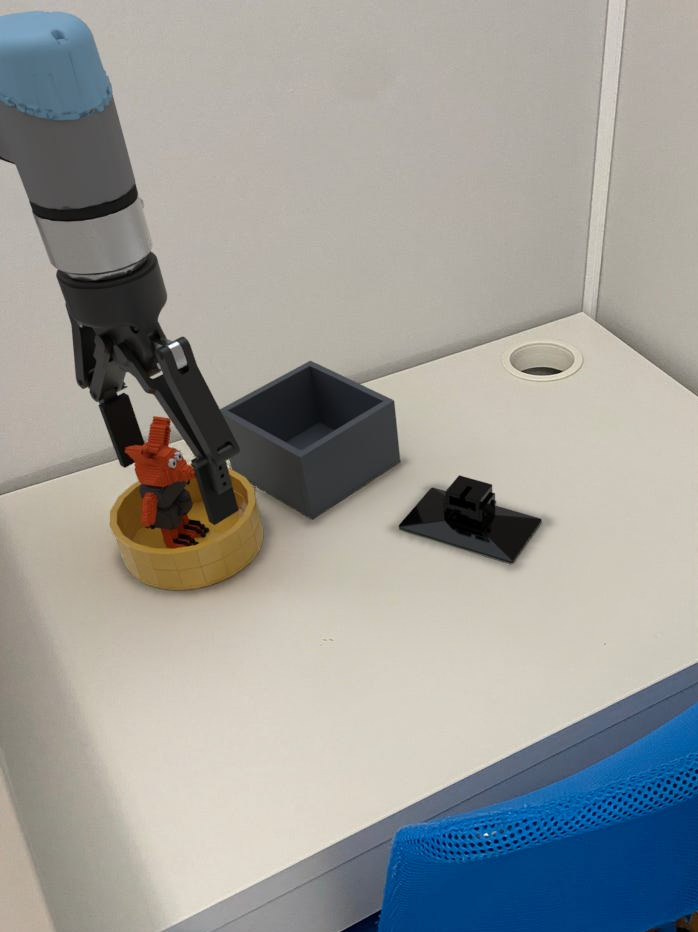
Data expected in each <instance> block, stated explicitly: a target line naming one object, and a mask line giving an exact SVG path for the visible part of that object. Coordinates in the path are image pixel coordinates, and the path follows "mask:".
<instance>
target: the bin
mask: <svg viewBox="0 0 698 932" xmlns="http://www.w3.org/2000/svg"><path fill="white" fill-rule="evenodd" d="M219 409H220V411H221V413H222V414H223V416H224V418H225V420H226V422H227V424H228V426H229V428H230V430H231V432H232V434H233V436H234V438H235V440H236V441H237V443H238V445H239V448H240V453H238V454H236V455H235V456H233V457H231V458H230V459H228V461H229V464H230V469H232V470H234V471H236V472H237V473H239V474H241V475H242V476H244V477H245V478H247V480H248V481H249V482H250V484H251V485H252V486H255V487H257V488H258V489H260V490H261V491H263V492H265V493H266V494H268V495H270V496H271V497H273V498H275V499H276V500H278V501H280V502H282V503H283V504H284V505H286V506H288V507H290V508H292V509H293V510H295V511H296V512H298V513H300V514H301V515H304V516H305V517H307V518H309V519H310V520H315V519H316V518H318V517H319V516H321V515H322V514H324V513H325V512H326V511H328V510H330V509H331V508H333V507H334V506H336V505H338V504H339V503H340V502H342V501H343V500H345V499H346V498H348V497H350V496H351V495H353V494H354V493H355V492H358V490H360V489H361V488H363V487H364V486H366V485H368V484H370V483H371V482H372V481H374V480H375V479H377V478H378V477H380V476H381V475H383V474H385V473H386V472H388V471H389V470H390V469H392V468H393V467H395V466H397V465H398V464H400V463H401V454H400V444H399V434H398V423H397V414H396V404H395V400H394V399H392V398H390V397H388V396H386V395H383V394H382V393H379V392H377V391H375V390H374V389H372V388H369V387H367V386H365V385H363V384H361V383H358V382H356V381H355V380H352V379H351V378H348V377H346V376H345V375H344V376H343V375H342V374H340V373H338V372H336V371H334V370H331V369H329V368H327V367H325V366H323V365H321V364H319V363H317V362H314V361H312V360H308V361H307V362H305V363H303V364H301V365H299V366H297V367H295V368H293V369H292V370H290V371H288V372H286V373H284V374H283V375H281V376H279V377H277V378H275V379H273V380H272V381H269V382H268V383H265V384H264V385H263V386H260V387H258V388H256V389H255V390H253V391H251V392H249V393H247V394H246V395H244V396H241V397H240V398H238V399H236V400H235V401H232V402H231V403H229V404H227V405H225V406H223V407H221V408H219Z"/></svg>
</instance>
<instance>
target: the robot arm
mask: <svg viewBox="0 0 698 932" xmlns="http://www.w3.org/2000/svg"><path fill="white" fill-rule="evenodd" d="M119 117H120V116H119V112H118V109H117V106H116V102H115V98H114V95H113V87H112V82H111V80H110V77H109V75H108V74H107V72H106V70H105V69H104V66H103V63H102V59H101V56H100V53H99V49H98V47H97V44H96V41H95V37H94V34H93V32H92V30H91V28H90V27H89V25H88V24H87V23H86V22H84V21H83V20H82V19H81V18H79V17H78V16H77V15H75V14H72V13H69V12H64V11H57V10H55V11H51V12H50V11H43V10H33V11H32V10H31V11H23V12H16V13H9V14H5V15H1V16H0V161H3V162H6V163H9V164H11V165H12V164H13V165H15V167H16V170H17V173H18V176H19V177H20V180H21V183H22V186H23V188H24V190H25V193H26V196H27V199H28V202H29V205H30V208H31V213H32V216H33V219H34V221H35V224H36V227H37V230H38V233H39V235H40V239H41V241H42V244H43V246H44V249H45V252H46V255H47V257H48V260H49V263H50V265H51V266H53V267H54V268H55V269H56V273H55V276H56V280H57V283H58V285H59V288H60V291H61V294H62V296H63V300H64V302H65V303H64V305H65V309H66V312H67V316H68V318H69V322H70V325H71V338H72V339H71V340H72V350H73V360H74V371H75V372H74V374H75V381H76V383H77V385H78V386H79V387H80V388H81V389H82V390H85V389H87V388H88V389H89V394H90V397H91V399H92V400H93V401H94V402H96V403H98V409H99V411H100V413H101V417H102V419H103V422H104V425H105V427H106V430H107V433H108V436H109V439H110V441H111V444H112V447H113V450H114V452H115V455H116V458H117V460H118V463H119V465H120V467H122V468H125V469H126V468H127V467H128V468H129V466H132V465H133V464H135V462H134V460H133V459H132V458H130V456H129V455H128V454H127V453H125V450H126V449H125V448H126V447H129V446H134V445H139V446H143V444H144V443H145V440H144V436H143V434H142V431H141V428H140V425H139V422H138V419H137V416H136V413H135V410H134V407H133V404H132V401H131V398H130V395H129V394H127V393H126V392H122V393H120V394H118V393H119V392H121V391H123V390H125V389H127V388H128V385H126V382H125V377H126V374H127V373H129V374H130V375H131V376H133V377H134V378H135V380H136V381H137V382H138V384H139V385H140V387H141V389H142V390H143V391H144V392H145V393H146V394H149V395H153V396H154V397H155V399H156V400H157V402H158V404H159V405H160V406H161V408H162V409H163V411H164V412H165V414H166V415H167V418H168V419H170V421H171V423H172V424H173V426H174V427H175V429H176V430H177V432H178V433H179V434H180V437H181V438H182V439H183V441H184V442H185V443H186V445H187V447H188V448H189V450H190V451H191V452H192V454H193V456H194V458H193V459H191V460H190V463H191V464H190V465H191V466H192V467H193V469H194V473H195V476H196V479H197V483H198V486H199V489H200V493H201V496H202V499H203V503H204V506H205V509H206V513H207V516H208V519H209V522H210V523H212V524H213V525H216V524H217V523H219V522H221V521H222V520H224V519H226V518H227V517H229V516H230V515H232V514H234V513H235V512H237V511H239V509H238V506H237V502H236V498H235V494H234V491H233V487H232V482H231V478H230V474H229V470H228V469H229V468H228V464H227V461H229V459H230V458H231V457H233V456H235V455H236V454H238V453H240V448H239V445H238V443H237V441H236V440H235V438H234V436H233V434H232V432H231V430H230V428H229V426H228V424H227V422H226V420H225V418H224V416H223V414H222V413H221V411H220V409H221V408H220V406H219V405H218V403H217V401H216V399H215V397H214V395H213V393H212V392H211V389H210V388H209V385H208V383H207V382H206V380H205V378H204V376H203V374H202V372H201V370H200V368H199V366H198V363H197V361H196V358H195V353H194V351H193V348H192V345H191V344H190V341H189V340H188V339H187V337H185V336H180V337H178V338H176V339H174V340H172V339H168V338H167V335H166V334H165V332H164V330H163V328H162V326H161V323H160V322H159V316H160V314H161V312H162V310H163V308H164V307H165V306H166V303H167V301H168V292H167V288H166V284H165V280H164V277H163V274H162V271H161V267H160V263H159V259H158V256H157V255H156V253H154V252H153V251H152V249H153V241H152V236H151V234H150V230H149V227H148V222H147V219H146V216H145V213H144V212H145V211H144V208H145V203H144V200H143V199H142V198H141V197H140V194H139V191H138V187H137V183H136V177H135V174H134V170H133V166H132V163H131V158H130V155H129V152H128V148H127V144H126V140H125V136H124V132H123V129H122V124H121V122H120V121H121V120H120V118H119ZM161 372H162V374H160V373H161ZM157 374H160V375H158V376H156V377H154V378H153V376H155V375H157Z"/></svg>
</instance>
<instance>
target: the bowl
mask: <svg viewBox="0 0 698 932" xmlns="http://www.w3.org/2000/svg"><path fill="white" fill-rule="evenodd" d="M188 466H191V464H188ZM192 468H193V467H192ZM228 470H229V474H230V478H231V482H232V487H233V491H234V494H235V498H236V502H237V506H238V509H239V511H237V512H235V513H234V514H232V515H230V516H229V517H227V518H226V519H224V520H222V521H221V522H219V523H217V524H216V525H213V524H212V523H210V522H209V519H208V516H207V513H206V509H205V506H204V503H203V499H202V496H201V493H200V489H199V486H198V483H197V479H196V478H191V480H190V484H189V485H187V482H188V480H186V486H185V489H186V490H187V491H189V493H190V496H191V499H192V502H193V505H192V506H193V507H192V509H191V510H190V511H189V513H188V514H187V515H188V518H189V519H191V520H198V521H200V522H201V524H205V527H207V528H209V530H210V531H209V532H208V533H206V536H205V538H204V537H197V538H195V541H196V542H199V544H197V545H193V546H187V547H181V548H174V549H173V548H167V546H166V545H165V542H164V539H163V535H162V532H161V529H160V528H155V529H151V528H149V529H148V528H145V526H144V525H143V524H142V522H141V519H142V518H141V517H142V506H143V505H142V502H143V501H142V498H141V495H140V492H139V489H140V488H139V486H140V485H141V484H140V482H139V480H138V481H136V482H134V483H132V484H131V485H129V486H128V487H127V489H125V490H124V491H123V492H122V493H121V494H119V496H118V497H117V498H116V500H115V502H114V504H113V505H112V507H111V509H110V510H109V521H108V522H109V523H108V526H109V528H110V531H111V533H112V536H113V539H114V541H115V544H116V546H117V549H118V551H119V554H120V556H121V558H122V560H123V563H124V566H125V567H126V569H127V571H128V572H129V574H130V575H131V576H133V578H135V579H136V580H137V581H139V582H141V583H143V584H144V585H147V586H149V587H154V588H155V589H162V590H169V591H171V590H172V591H187V590H195V589H200V588H205V587H209V586H212V585H214V584H218V583H220V582H223V581H225V580H228V579H229V578H231V577H233V576H235V575H236V574H238V573H239V572H240V571H242V570H244V569H245V568H246V567H247V566H249V564H251V563H252V562H253V561H254V559H255V558H256V557H257V555H258V554H259V552H260V551H261V548H262V547H263V543H264V539H265V531H264V525H263V520H262V516H261V515H262V514H261V511H260V507H259V502H258V498H257V495H256V490H255V488H254V486H253V484H251V483H250V482H249V481H248V480H247V478H245V477H244V476H242V475H241V474H239V473H237V472H236V471H234V470H232V468H228ZM193 471H194V469H193Z"/></svg>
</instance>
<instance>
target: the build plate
mask: <svg viewBox="0 0 698 932" xmlns="http://www.w3.org/2000/svg"><path fill="white" fill-rule="evenodd" d="M416 503H417V504H415V506H414V507H413V508H412V509H411V510H410V511H409V513H408V514H407V515H406V516H405V517H404V518H403V520H402V521H401V522H400V523H399V524H398V529H399V530H400V531H403V532H405V533H410V534H413V535H416V536H419V537H422V538H425V539H428V540H432V541H435V542H439V543H441V544H444V545H448V546H452V547H455V548H458V549H461V550H465V551H468V552H471V553H474V554H478V555H481V556H485V557H486V558H489V559H493V560H498V561H500V562H503V563H506V564H510V565H512V564H514V563H515V561H516V560H517V559H518V557H519V556H520V554H522V551H524V549H525V548H526V546H527V544H528V543H529V541H530V540H531V539H532V538H533V536H534V534H535V533H536V532H537V531H538V529H539V527H540V526H541V524H542V523H543V520H542V518H541V517H537V516H534V515H530V514H528V513H527V514H526V513H523V512H520V511H516V510H512V509H509V508H505V507H503V506H499V505H497V500H496V492H493V484H492V483H488V482H485V481H482V480H478V479H474V478H471V477H466V476H463V475H458V476H457V477H456V478H455V479H454V480H453V481H452V483H451V484H450V485H449V486H448V487H447V489H446V490H443V489H441V488H436V487H430V488H429V489H428V491H427V492H426V493H425V494H424V495H423V496H422V497H421V499H420V500H419V501H418V502H416Z"/></svg>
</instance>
